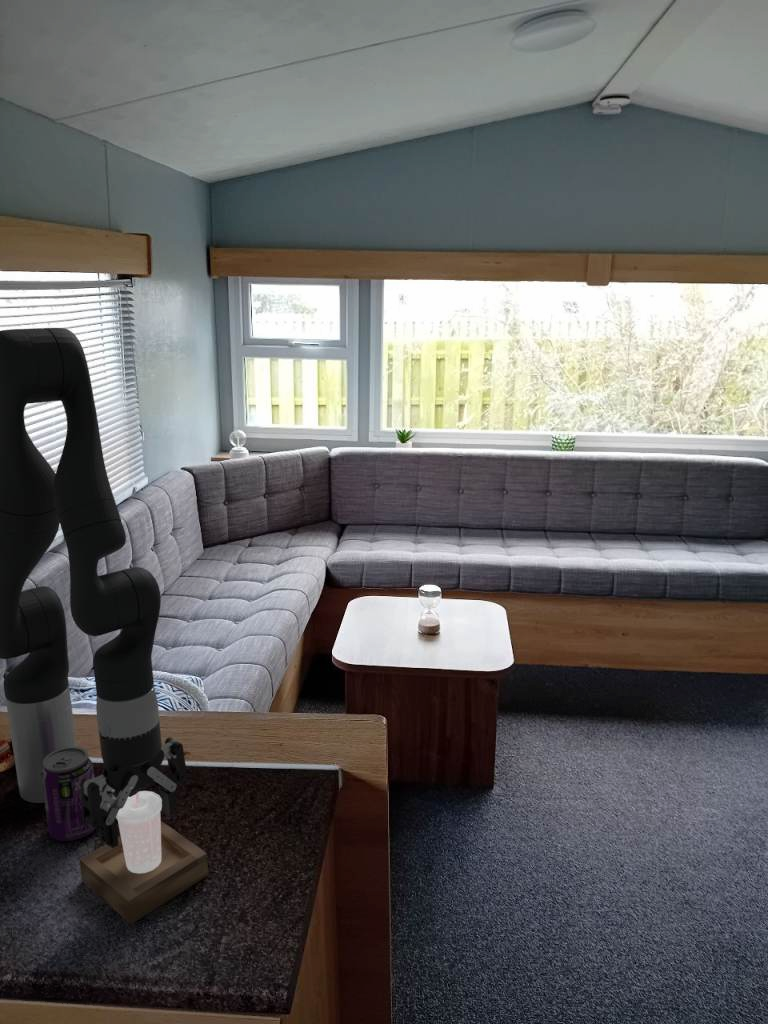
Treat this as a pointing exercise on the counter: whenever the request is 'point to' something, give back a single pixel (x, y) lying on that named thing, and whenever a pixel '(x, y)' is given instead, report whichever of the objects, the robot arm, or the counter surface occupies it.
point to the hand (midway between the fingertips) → (140, 828)
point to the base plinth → (144, 875)
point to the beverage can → (66, 792)
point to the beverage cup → (141, 831)
